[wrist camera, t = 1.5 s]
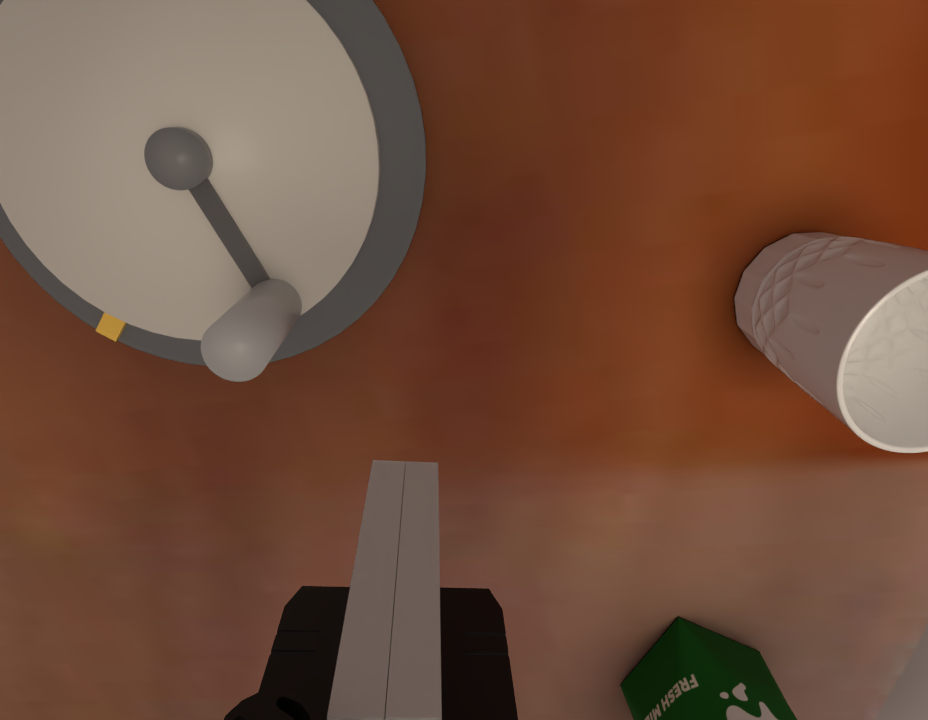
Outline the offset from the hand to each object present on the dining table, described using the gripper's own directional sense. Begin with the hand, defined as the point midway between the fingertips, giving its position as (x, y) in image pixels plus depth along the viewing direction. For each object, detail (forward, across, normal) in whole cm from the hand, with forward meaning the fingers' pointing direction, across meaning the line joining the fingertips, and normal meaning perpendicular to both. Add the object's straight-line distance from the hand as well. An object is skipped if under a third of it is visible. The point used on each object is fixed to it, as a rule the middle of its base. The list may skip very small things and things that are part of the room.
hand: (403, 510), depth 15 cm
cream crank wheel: (+16, -10, +7) cm, 20 cm away
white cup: (+19, +20, +2) cm, 27 cm away
